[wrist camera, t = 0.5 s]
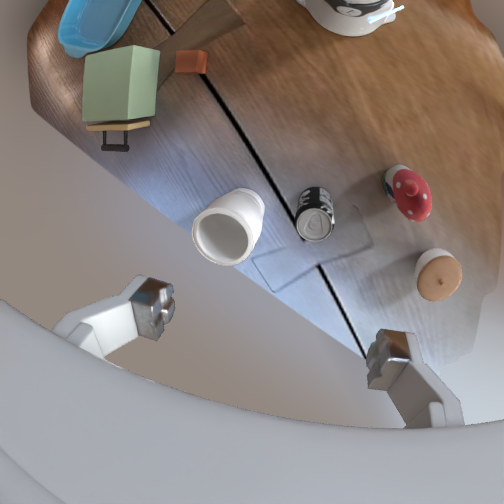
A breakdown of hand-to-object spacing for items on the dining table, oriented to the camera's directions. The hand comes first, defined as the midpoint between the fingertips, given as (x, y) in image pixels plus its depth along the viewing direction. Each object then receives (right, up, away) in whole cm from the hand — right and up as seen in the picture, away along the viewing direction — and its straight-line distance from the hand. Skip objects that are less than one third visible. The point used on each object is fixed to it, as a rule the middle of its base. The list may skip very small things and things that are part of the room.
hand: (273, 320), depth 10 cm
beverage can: (+12, +12, +44) cm, 47 cm away
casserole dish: (-31, +63, +27) cm, 75 cm away
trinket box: (+39, 0, +44) cm, 58 cm away
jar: (-2, +12, +48) cm, 49 cm away
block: (-12, +39, +35) cm, 54 cm away
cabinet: (-27, +39, +39) cm, 61 cm away
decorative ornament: (+27, +16, +38) cm, 49 cm away
